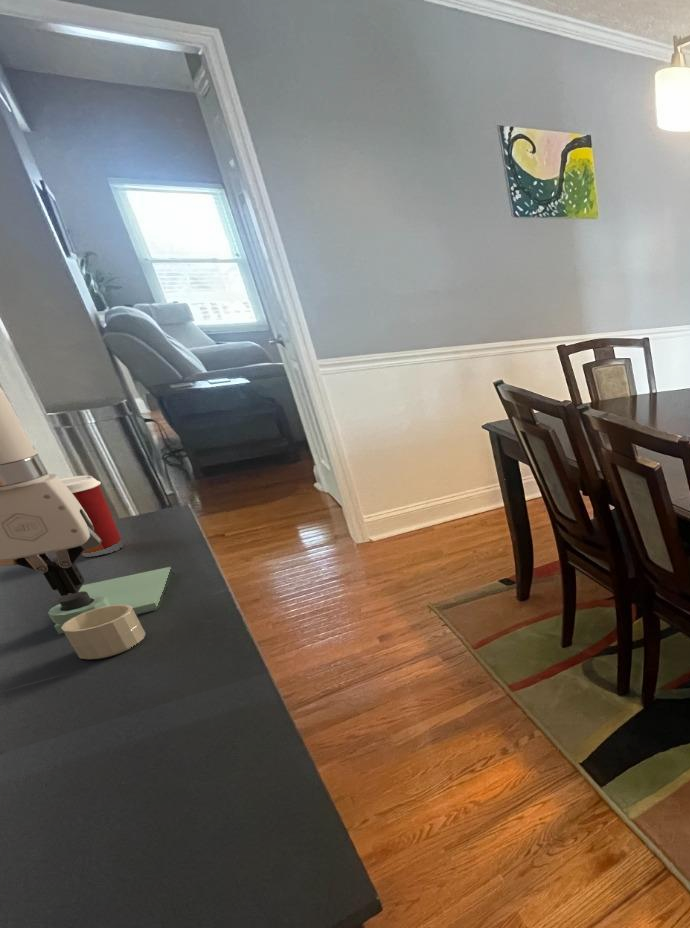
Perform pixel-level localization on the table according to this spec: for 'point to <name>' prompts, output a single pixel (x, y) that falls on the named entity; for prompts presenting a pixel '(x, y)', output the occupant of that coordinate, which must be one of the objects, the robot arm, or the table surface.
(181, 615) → the table surface
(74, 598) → the button
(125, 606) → the bowl
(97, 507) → the paper cup
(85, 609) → the scale
